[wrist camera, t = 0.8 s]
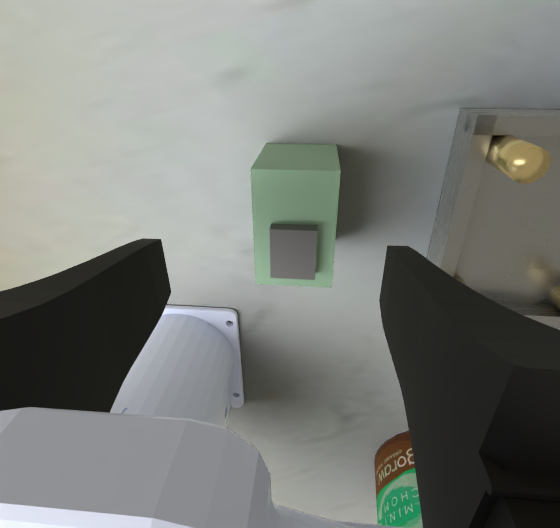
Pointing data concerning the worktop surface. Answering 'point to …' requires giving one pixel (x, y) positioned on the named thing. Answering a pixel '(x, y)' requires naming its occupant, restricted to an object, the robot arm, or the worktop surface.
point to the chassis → (504, 210)
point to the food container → (397, 484)
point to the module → (295, 213)
